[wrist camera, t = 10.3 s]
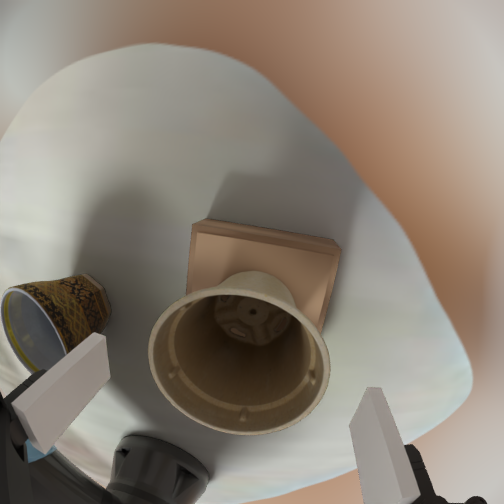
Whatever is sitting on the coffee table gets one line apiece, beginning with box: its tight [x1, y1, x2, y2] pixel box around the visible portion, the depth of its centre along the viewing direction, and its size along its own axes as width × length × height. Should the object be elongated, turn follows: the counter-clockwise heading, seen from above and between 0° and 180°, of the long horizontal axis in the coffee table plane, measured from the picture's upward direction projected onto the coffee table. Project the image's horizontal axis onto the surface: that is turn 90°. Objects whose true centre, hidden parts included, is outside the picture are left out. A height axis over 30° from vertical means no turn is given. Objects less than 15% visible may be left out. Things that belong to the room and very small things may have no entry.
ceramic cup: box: [0, 274, 111, 374], centre depth 24 cm, size 13×10×10 cm
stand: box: [186, 219, 341, 337], centre depth 24 cm, size 11×11×4 cm
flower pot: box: [148, 271, 330, 435], centre depth 18 cm, size 9×9×9 cm
